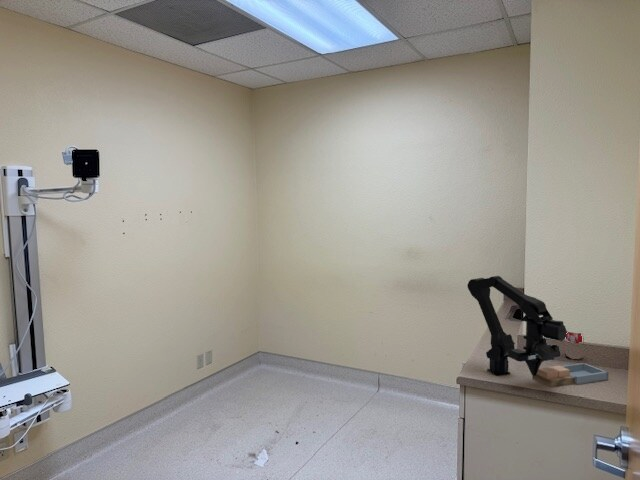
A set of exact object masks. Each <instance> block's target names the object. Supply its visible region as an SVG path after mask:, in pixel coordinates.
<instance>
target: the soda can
mask: <svg viewBox="0 0 640 480" xmlns="http://www.w3.org/2000/svg"><path fill="white" fill-rule="evenodd" d="M567 332H568V331H567ZM566 339H567V340H568V341H570V342H571V343H572V344H573V343H579V342H582V336H581V333H574V332H568V333H567V334H566Z"/></svg>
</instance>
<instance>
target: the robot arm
mask: <svg viewBox="0 0 640 480" xmlns="http://www.w3.org/2000/svg"><path fill="white" fill-rule="evenodd" d="M491 288H494V289H495V290H497V291H499V293H501V294H503V295H504V296H505V297H507V298H508V299H510V300H511V301H512V302H514V303H515V304H516V305H517V306H518V307H519V310H520V311H521V312H522V313H523V314H524V316H523V317H522V318H520V321H522V322H525V324H526V325H525V326H526V327H525V335H523V339H524V340H525V346H523V350H521V349H519V348H515V344H516V343H515V341H514V340H513V337H512V335H511V334H509V333H508V334H507V333H506V332H505V331H504V330H503V326H502V324H501V321H500V319H499V317H498V314H497V312H496V310H495V307H494V305H493V302H492V300H491ZM467 290H468V291H469V293H470V295H471V296H472V298H474V299H475V300H476V301H477V303H478V305H479V307H480V311H481V312H482V315H483V318H484V321H485V323H486V325H487V328H488V330H489V333H490V346H491V348H490V349H489V350H488V351H486V352H485V355H486V358H487V359H489V368H487V369H486V371H487V372H489V373H491V374H492V375H495V376H497V377H500V376H506V375H511V372H510V371H509V359H508V358H510V359H513V360H514V361H517V362H525V364H526V365H527V367H528V369H529V372H530V374H531V376H532V377H533V376H536V374H537V372H538V369H539V368H541V365H542V363H544V361H546V362H548V361H553V360H555V358H557V357H558V358H559V357H561V351H560V346H559V345H558V346H557V345H552V346H551V345H547V343H546V339H545V338H543V335H544V337H546V338H550V339H555V340H558V342H559V341H560V342H563V341H565V337H566V333H567V330H568V329H567V328H566V325H564V321H563V320H555V319H553V316H552V315H551V314H550V312H549V310H548V309H547V305H546V303H545V302H544V301H542V300H540V299H539V298H537V297H534V296H530V295H527V294H526V293H524V292H523V291H521V290H519V289H518V288H517V287H515V286H513V285H512V284H510V283H509V282H508V281H506V280H505V279H503V278H502V276H500V275H495V276H490V277H487V278H484V277H479V278H472V279H470V280H469V281H468V282H467ZM540 316H541V317H540Z"/></svg>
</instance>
